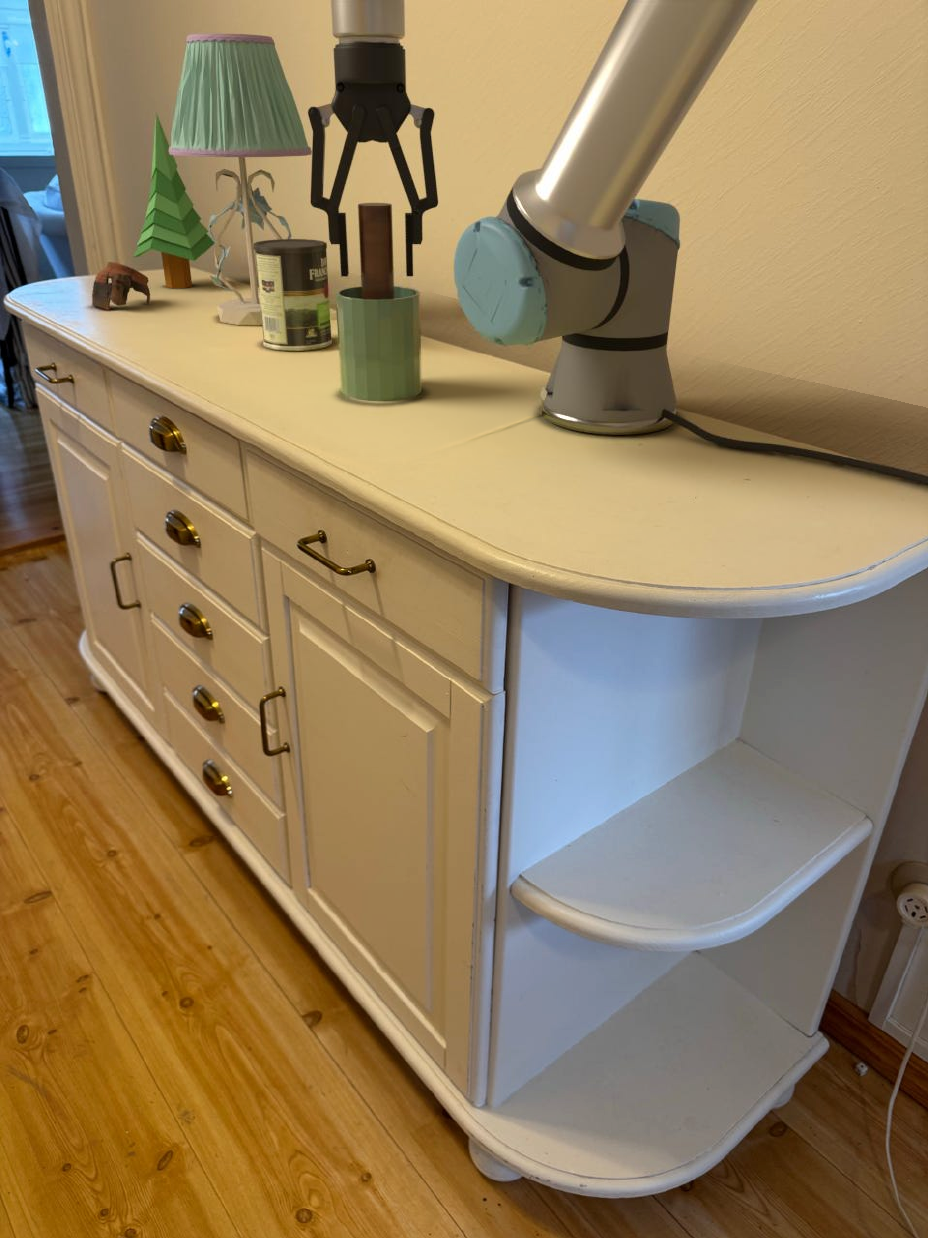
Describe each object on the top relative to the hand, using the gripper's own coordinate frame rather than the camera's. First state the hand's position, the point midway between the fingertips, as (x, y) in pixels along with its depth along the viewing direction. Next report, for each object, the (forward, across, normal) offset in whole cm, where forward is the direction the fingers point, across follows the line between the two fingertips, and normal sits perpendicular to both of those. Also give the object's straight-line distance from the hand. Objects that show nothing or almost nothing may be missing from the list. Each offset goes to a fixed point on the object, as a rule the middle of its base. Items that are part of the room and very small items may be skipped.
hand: (377, 274), depth 108 cm
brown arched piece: (+14, +46, -59) cm, 76 cm away
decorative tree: (+14, +40, -80) cm, 91 cm away
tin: (+14, 0, 0) cm, 14 cm away
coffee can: (+14, +13, -28) cm, 34 cm away
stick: (+14, 0, 0) cm, 14 cm away
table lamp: (+14, +21, -48) cm, 54 cm away
